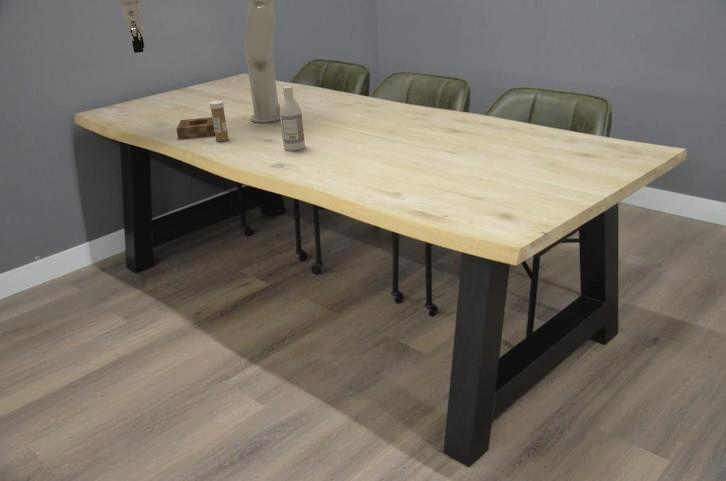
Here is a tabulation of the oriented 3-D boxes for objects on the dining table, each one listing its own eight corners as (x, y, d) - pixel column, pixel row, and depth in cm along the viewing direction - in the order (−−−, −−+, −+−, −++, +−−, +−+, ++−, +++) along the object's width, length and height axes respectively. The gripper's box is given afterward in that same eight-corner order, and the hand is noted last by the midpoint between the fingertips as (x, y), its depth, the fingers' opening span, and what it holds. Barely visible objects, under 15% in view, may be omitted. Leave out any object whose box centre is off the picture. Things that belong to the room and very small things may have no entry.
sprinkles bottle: (231, 139, 250) (225, 101, 244) (218, 142, 247) (212, 104, 242) (225, 137, 253) (219, 99, 248) (213, 140, 251) (207, 101, 245)
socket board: (220, 127, 267) (219, 116, 265) (218, 135, 256) (216, 124, 254) (182, 130, 266) (180, 120, 264) (178, 139, 255) (176, 128, 253)
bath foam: (307, 149, 233) (301, 87, 225) (287, 152, 231) (279, 90, 223) (301, 143, 239) (295, 83, 231) (281, 147, 237) (274, 86, 229)
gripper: (139, 0, 242) (149, 52, 249) (141, -4, 257) (150, 45, 264) (116, 3, 241) (127, 55, 248) (119, -2, 256) (129, 47, 263)
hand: (139, 50), depth 256 cm, fingers open, 9 cm apart
